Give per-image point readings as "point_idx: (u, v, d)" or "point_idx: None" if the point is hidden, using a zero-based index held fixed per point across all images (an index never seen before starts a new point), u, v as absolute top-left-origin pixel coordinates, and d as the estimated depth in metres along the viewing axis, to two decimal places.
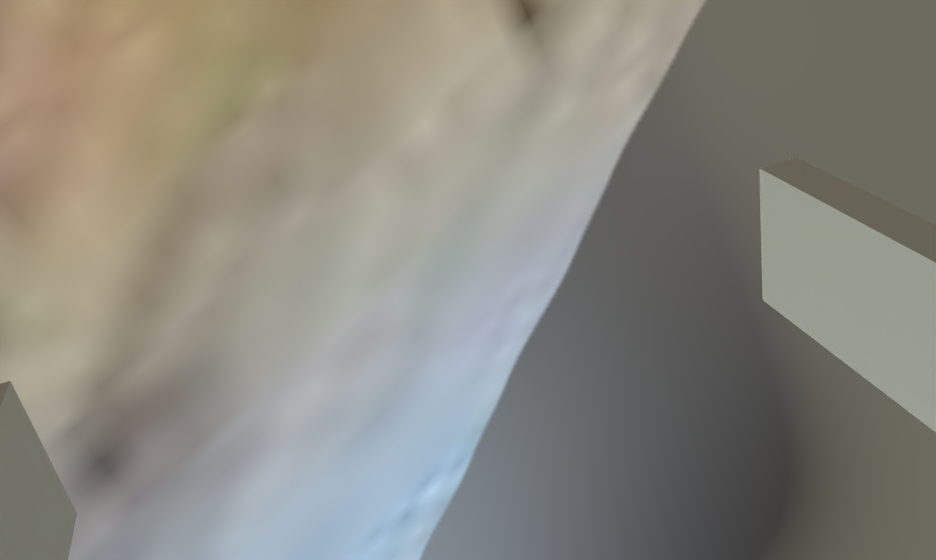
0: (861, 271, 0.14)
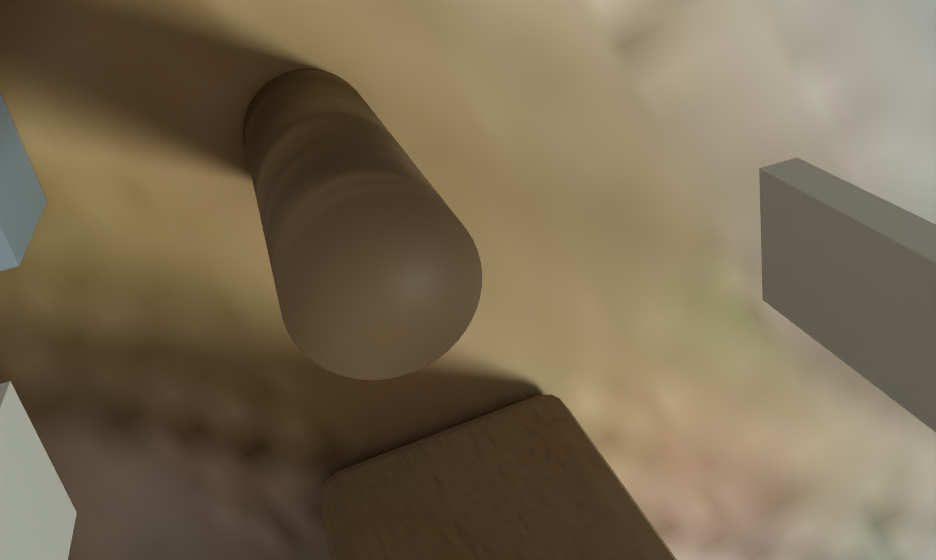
0: (861, 271, 0.14)
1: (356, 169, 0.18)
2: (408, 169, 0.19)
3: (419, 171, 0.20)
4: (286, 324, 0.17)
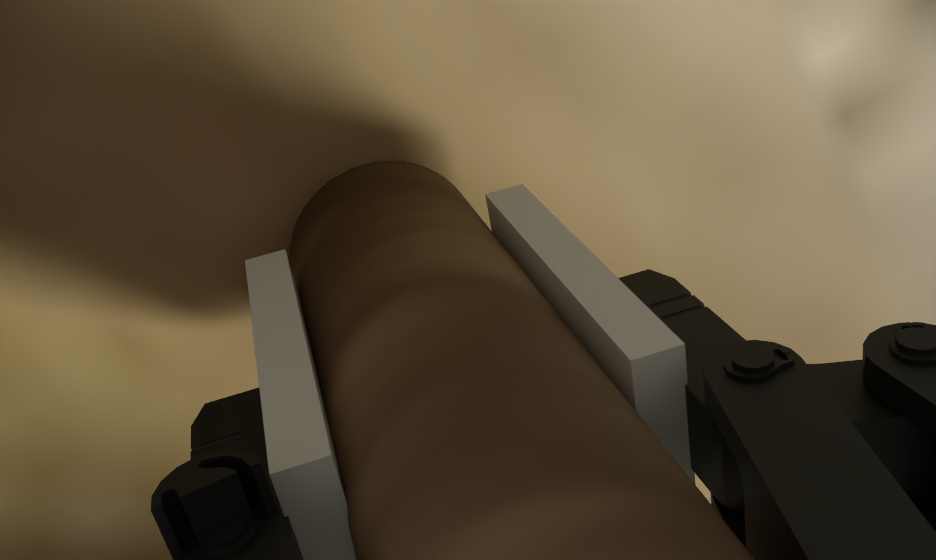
0: None
1: (564, 480, 0.08)
2: (647, 449, 0.09)
3: (644, 423, 0.10)
4: None
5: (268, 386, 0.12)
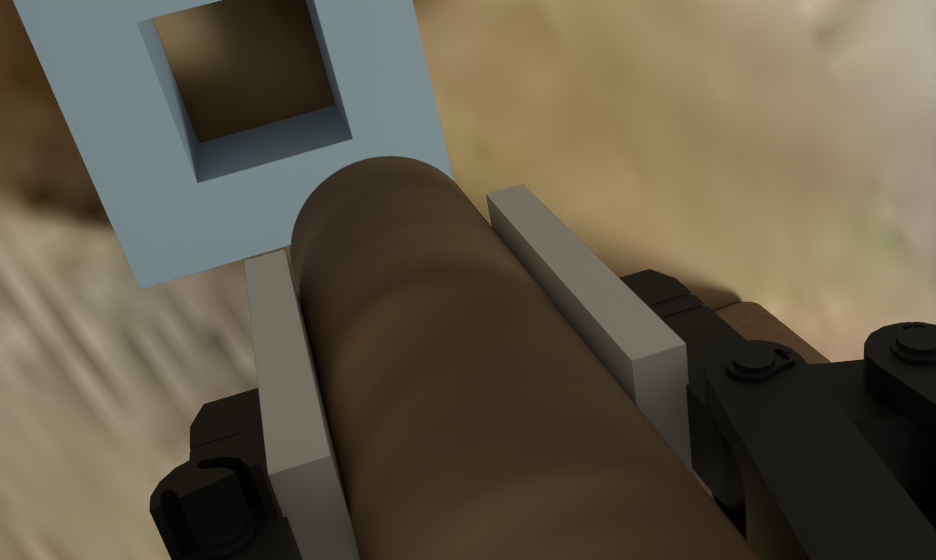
0: None
1: (557, 461, 0.09)
2: (640, 432, 0.10)
3: (637, 408, 0.11)
4: None
5: (267, 387, 0.12)
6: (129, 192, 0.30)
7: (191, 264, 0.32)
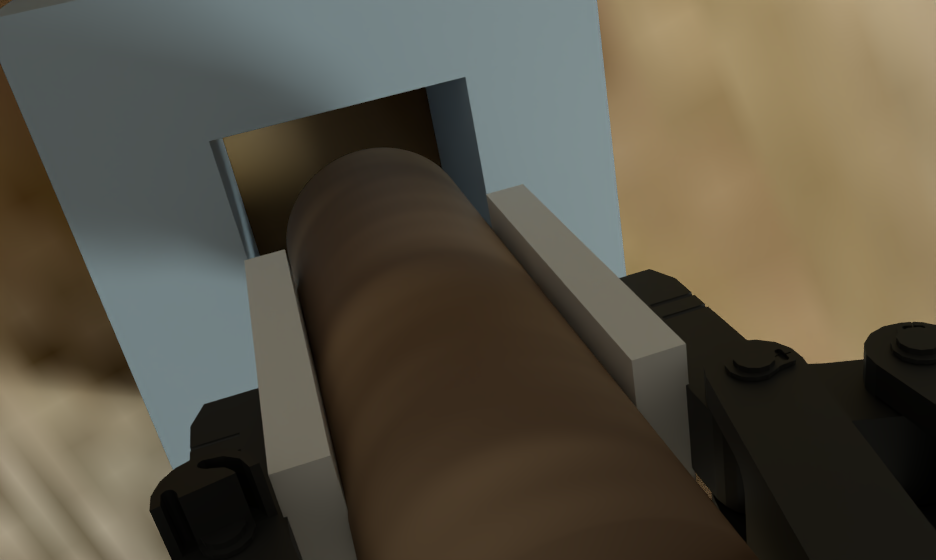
0: None
1: (535, 428, 0.09)
2: (616, 404, 0.10)
3: (616, 384, 0.11)
4: None
5: (267, 387, 0.12)
6: (183, 381, 0.20)
7: None
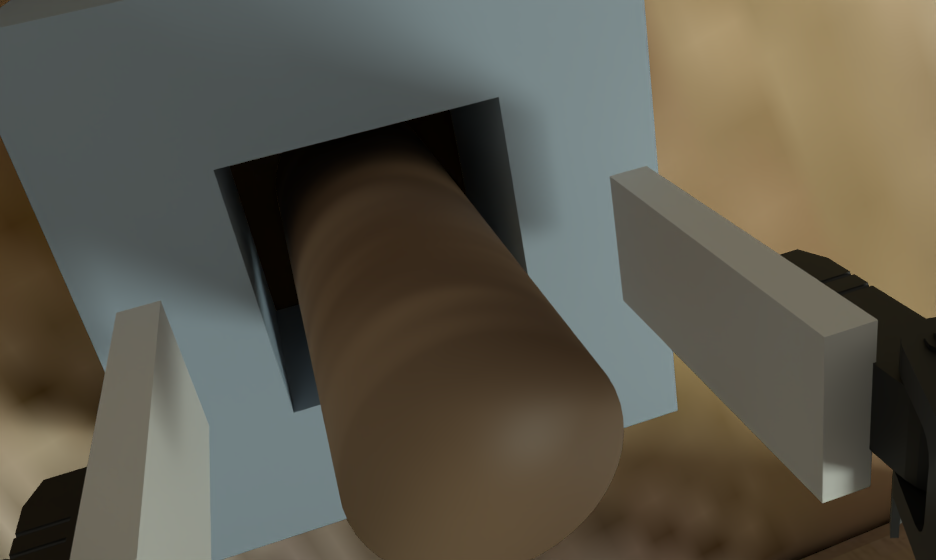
0: (683, 273, 0.14)
1: (445, 282, 0.12)
2: (513, 274, 0.13)
3: (521, 268, 0.14)
4: (346, 512, 0.12)
5: (95, 469, 0.11)
6: None
7: (274, 528, 0.20)
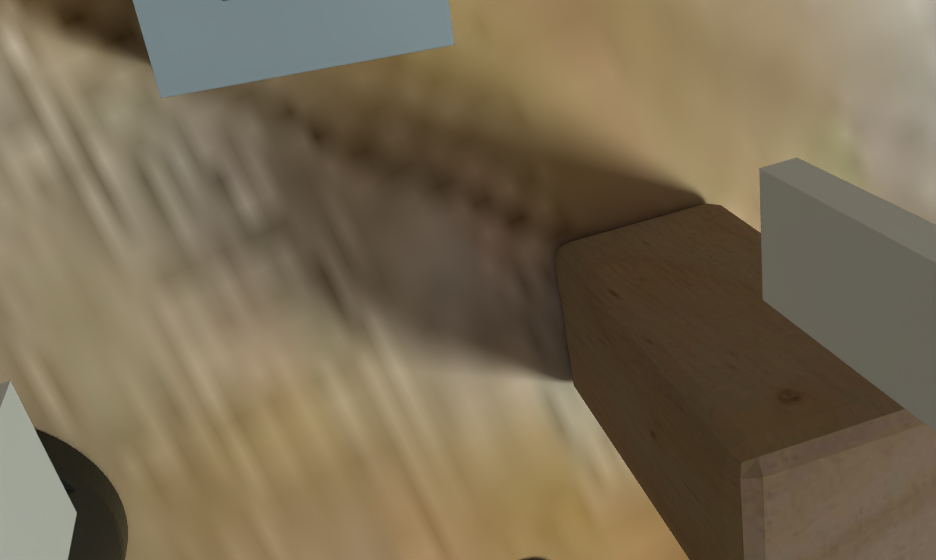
0: (861, 271, 0.14)
1: None
2: None
3: None
4: None
5: None
6: (160, 1, 0.33)
7: (209, 79, 0.35)
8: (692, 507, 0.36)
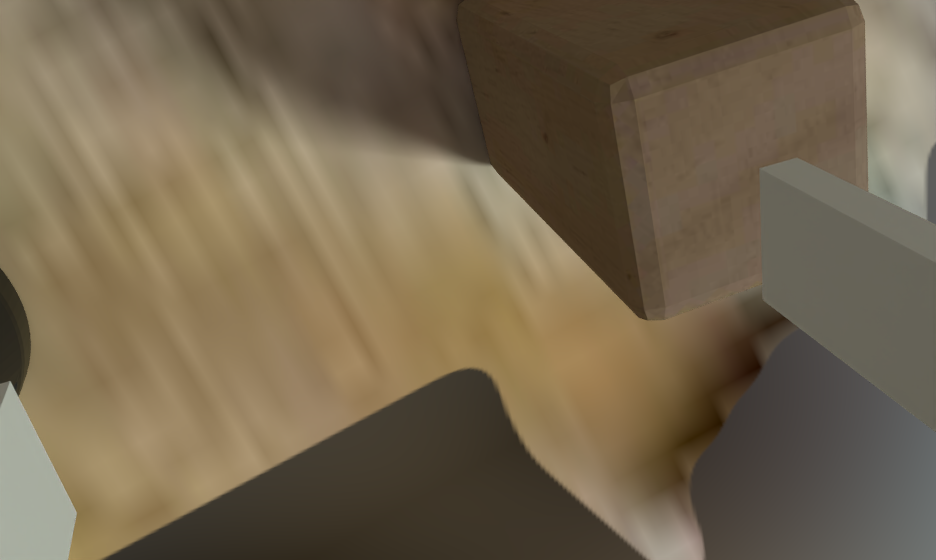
0: (861, 271, 0.14)
1: None
2: None
3: None
4: None
5: None
6: None
7: None
8: (582, 191, 0.34)
